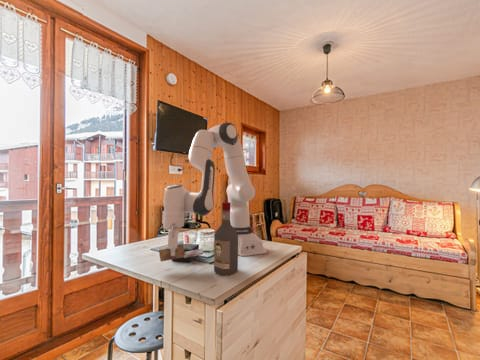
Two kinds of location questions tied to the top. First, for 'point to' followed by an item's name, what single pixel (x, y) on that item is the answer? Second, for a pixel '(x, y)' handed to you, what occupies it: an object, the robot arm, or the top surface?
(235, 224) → the robot arm
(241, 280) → the top surface
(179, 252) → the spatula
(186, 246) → the small box
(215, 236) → the liquor
